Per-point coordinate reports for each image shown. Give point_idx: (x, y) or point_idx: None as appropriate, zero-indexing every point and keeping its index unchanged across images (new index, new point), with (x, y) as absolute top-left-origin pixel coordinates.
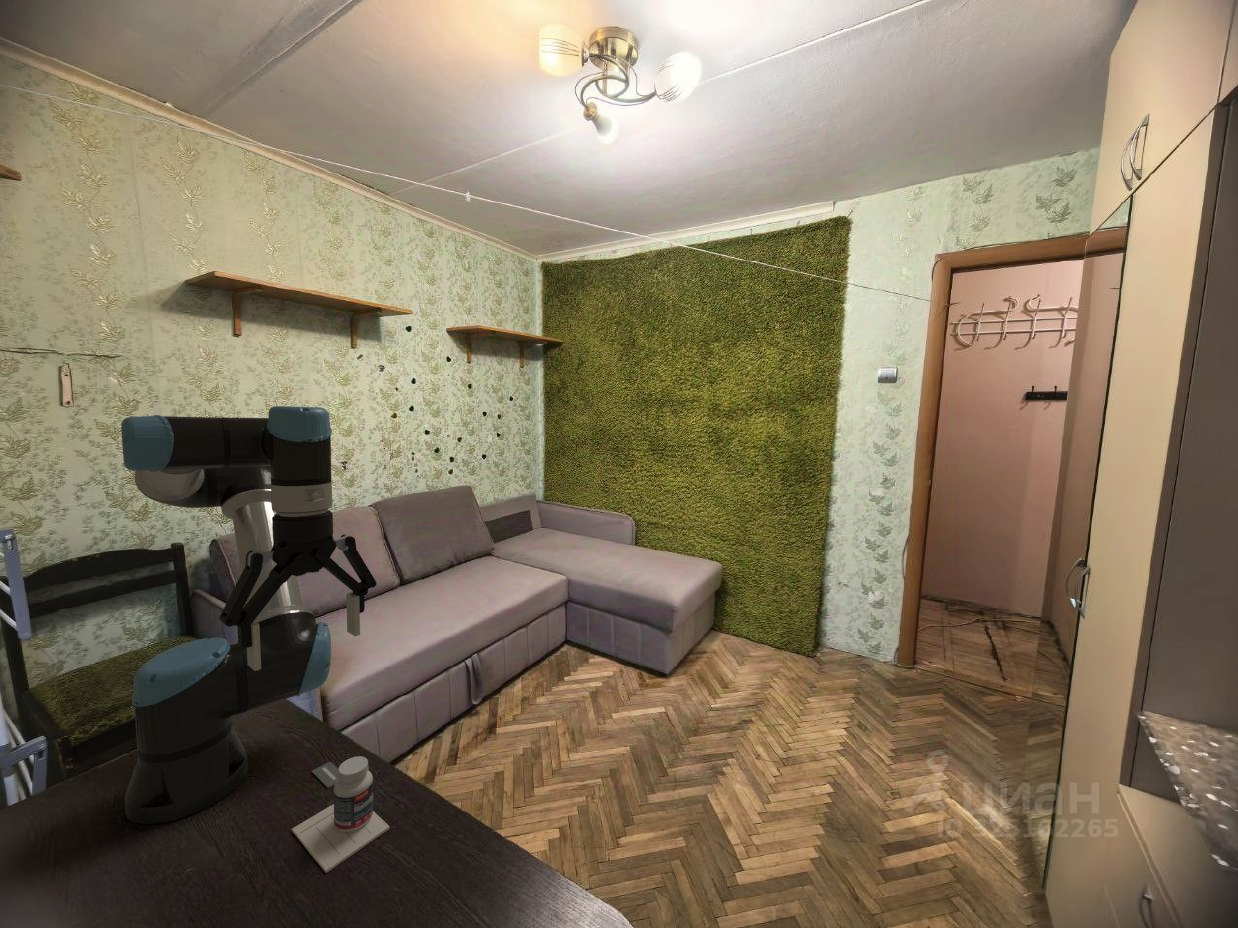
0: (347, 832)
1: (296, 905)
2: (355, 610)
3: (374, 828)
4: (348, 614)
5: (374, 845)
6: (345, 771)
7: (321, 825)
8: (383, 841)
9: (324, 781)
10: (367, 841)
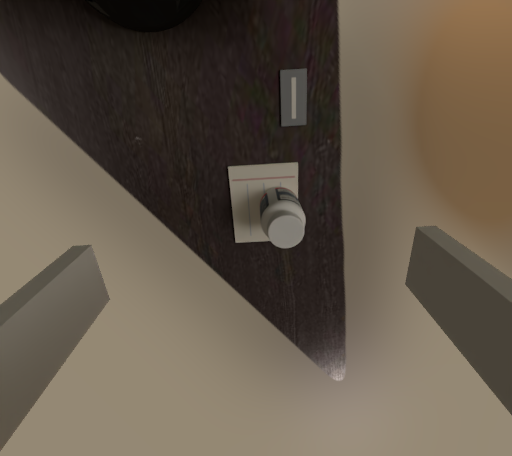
0: None
1: (208, 252)
2: (480, 371)
3: None
4: (466, 288)
5: None
6: (273, 236)
7: (251, 187)
8: None
9: (283, 110)
10: None
